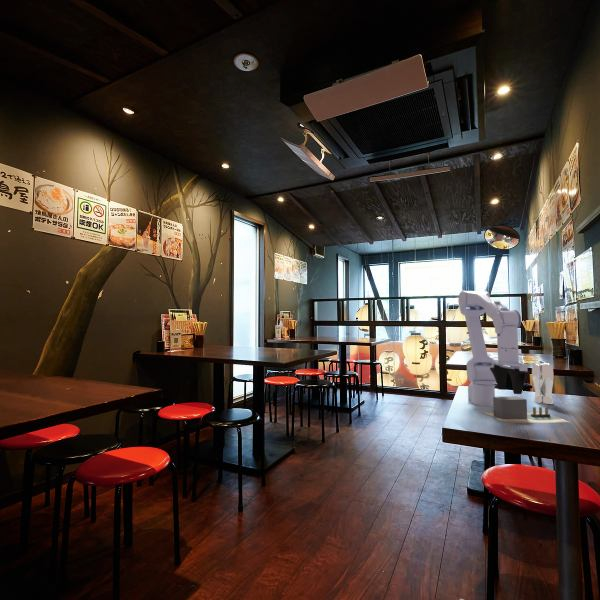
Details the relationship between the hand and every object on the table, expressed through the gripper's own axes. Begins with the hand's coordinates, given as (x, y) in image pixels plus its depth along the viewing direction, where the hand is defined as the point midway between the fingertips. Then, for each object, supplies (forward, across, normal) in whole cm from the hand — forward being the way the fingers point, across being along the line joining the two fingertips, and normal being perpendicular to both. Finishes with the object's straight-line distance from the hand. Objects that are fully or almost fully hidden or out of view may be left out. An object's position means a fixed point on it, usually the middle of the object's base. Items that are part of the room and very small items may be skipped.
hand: (509, 391), depth 112 cm
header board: (+10, 0, +5) cm, 11 cm away
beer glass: (+9, -25, +30) cm, 40 cm away
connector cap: (+8, 0, 0) cm, 8 cm away
